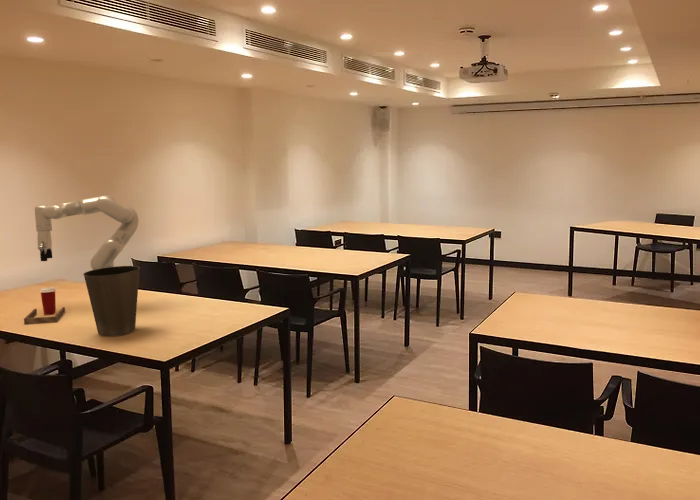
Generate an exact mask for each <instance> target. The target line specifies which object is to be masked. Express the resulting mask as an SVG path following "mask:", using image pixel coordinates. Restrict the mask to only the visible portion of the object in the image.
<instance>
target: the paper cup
mask: <svg viewBox="0 0 700 500" xmlns="http://www.w3.org/2000/svg"><path fill="white" fill-rule="evenodd" d="M39 292H40V297H41V303H42V310H43V315H44V316H51V315H52V316H54V315H56V314H57V313H56V288H55V287H54V286H52V287H51V286H49V287H48V286H47V287H42V288H40V291H39Z"/></svg>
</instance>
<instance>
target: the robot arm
mask: <svg viewBox="0 0 700 500" xmlns="http://www.w3.org/2000/svg"><path fill="white" fill-rule="evenodd" d="M98 213H103V214H104V215H106V216H108V217H110V218H112V219H113V220H115V221H117V222H119V223H120V225H119V226H118V228H117V229H116V230H115V231H114V233H113V234H112V236H110V237H109V238H108V239H106V240H105V241H104V242H103V243H102V245H101V246H100V247H99V249H98V250H97V251H96V252H95V254H94V255H93V256H92V258H91V259H90V267H91V270H95V269H101V268H107V267H115V266H114V265H115V263H114V261H115V259H116V258H117V257H118V256H119V255H120V253H122V252H123V250H124V248H125V246H126V245H127V244H128V242H129V241H130V240H131V238H132V237H134V236H133V235H134V234H135V233H136V231H137V229H138V226H139V216H138V213H137V211H136V210H135V209H134V208H133V207H132V206H126V205H125V206H123V205H122V204H120V203H118V202H116V200H115V198H114V197H113V196H112V195H109V194H108V195H107V194H106V195H100V196H95V197H87V198H82V199H80V200H76V201H69V202H64V203H58V204H55V205H48V204H47V205H46V204H45V205H44V204H43V205H42V204H39V205H36V206H34V217H35V230H36V233H37V238H36V239H37V250H39V257H40V262H47V261H48V259H53V248H52V246H53V244H52V243H53V242H52V241H53V240H52V233H51V231H53V229H52V227H53V226H52V225H53V224H52V220H59V219H62V218H66V217H72V216H79V215H82V216H83V215H84V216H85V215H92V214H98Z"/></svg>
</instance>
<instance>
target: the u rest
mask: <svg viewBox="0 0 700 500" xmlns="http://www.w3.org/2000/svg"><path fill="white" fill-rule="evenodd" d="M37 310H38V309H37V308H34V309H32V311H31V312H29V313H28V314H27V315H26V316H25V317H24V318H23V323H24V324H23V325H37V324H54V323H58V322H59V320H61V318H62V317H63V316H64V315H65V313H66V307H65V306H63V307H61V308H60V309H59V311H58V312H57V313H55V314H54V315H52V316H38V317H37V315H38V311H37Z"/></svg>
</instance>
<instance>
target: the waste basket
mask: <svg viewBox="0 0 700 500" xmlns="http://www.w3.org/2000/svg"><path fill="white" fill-rule="evenodd" d="M140 269H141V267H140V266H137V265H120V266H114V267H107V268H101V269H95V270H93V269H91V270H89V271H85V272H84V273H83V277H84V280H85V285H86V288H87V293H88V296H89V297H88V298H89V301H90V306H91V309H92V315H93V318H94V321H95V326H96V330H97V334H98V335H100V336H102V337H119V336H126V335H129V334H131V333H133V332H135V330H136V321H137V308H138V294H139V293H138V292H139V281H140V279H139V278H140Z"/></svg>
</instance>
